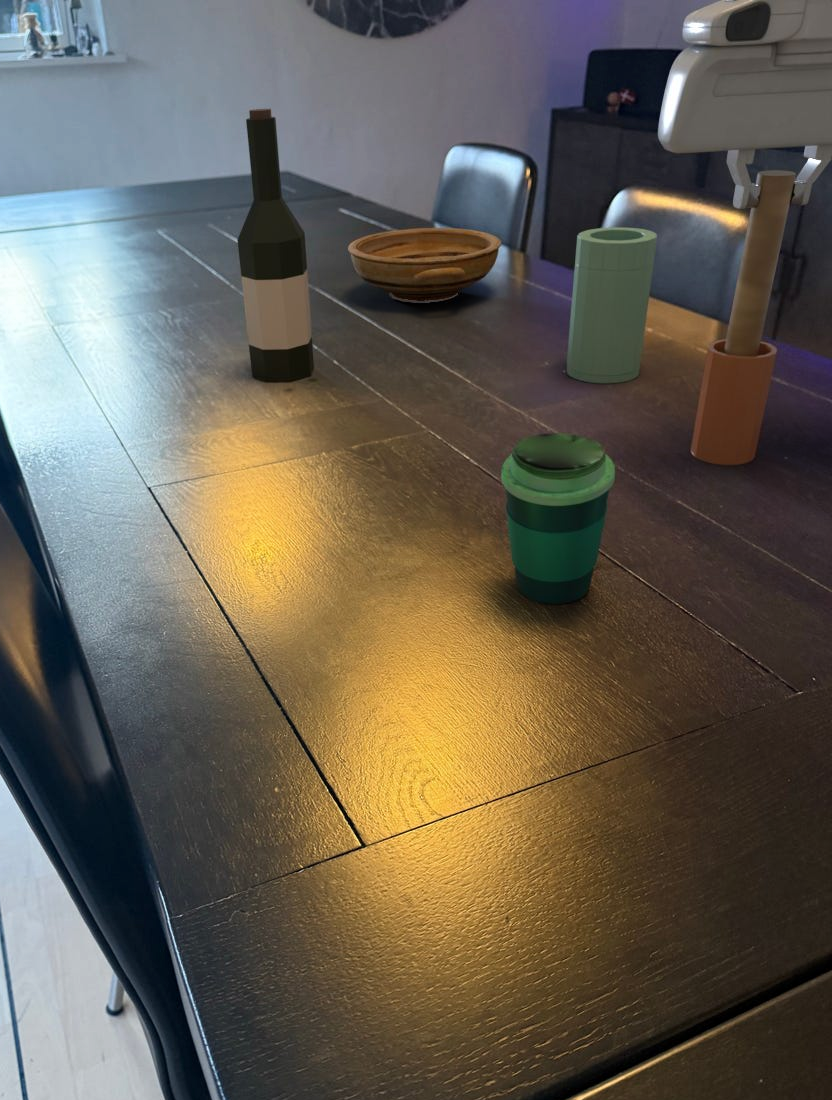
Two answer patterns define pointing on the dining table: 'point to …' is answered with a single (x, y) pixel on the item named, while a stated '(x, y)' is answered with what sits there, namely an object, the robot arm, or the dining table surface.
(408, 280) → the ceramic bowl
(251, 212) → the wine bottle
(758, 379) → the cup
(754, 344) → the wooden rod
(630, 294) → the mint green tube
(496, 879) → the dining table surface
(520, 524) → the cup
